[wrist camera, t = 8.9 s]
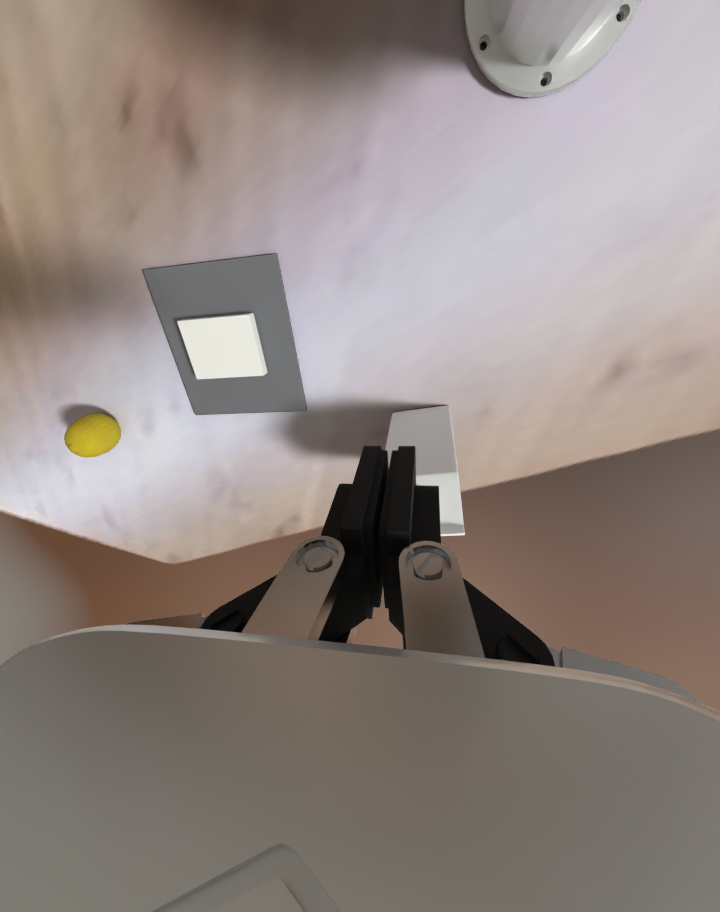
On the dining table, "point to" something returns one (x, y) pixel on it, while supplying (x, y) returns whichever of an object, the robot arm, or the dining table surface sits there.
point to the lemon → (92, 435)
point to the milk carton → (432, 458)
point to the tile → (223, 346)
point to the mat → (231, 293)
